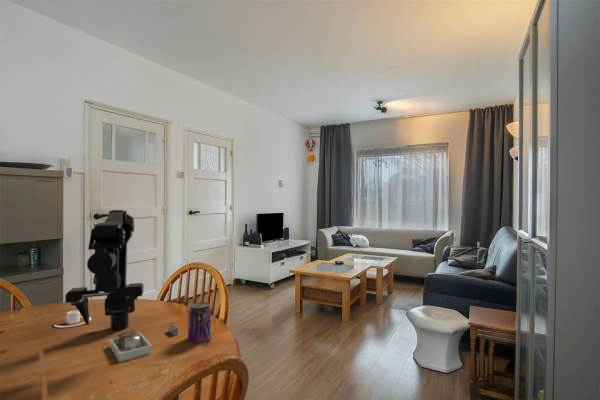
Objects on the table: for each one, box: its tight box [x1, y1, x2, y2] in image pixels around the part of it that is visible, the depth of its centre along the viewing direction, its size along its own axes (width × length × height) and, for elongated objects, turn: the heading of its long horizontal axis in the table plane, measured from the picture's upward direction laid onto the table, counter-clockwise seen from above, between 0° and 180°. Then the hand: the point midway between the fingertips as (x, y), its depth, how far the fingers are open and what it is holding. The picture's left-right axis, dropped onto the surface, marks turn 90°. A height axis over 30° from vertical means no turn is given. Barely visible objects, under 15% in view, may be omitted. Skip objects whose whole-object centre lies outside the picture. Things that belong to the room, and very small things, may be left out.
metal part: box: [125, 334, 140, 352], centre depth 95 cm, size 4×4×4 cm
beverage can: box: [187, 301, 212, 344], centre depth 106 cm, size 7×7×12 cm
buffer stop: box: [167, 324, 179, 337], centre depth 110 cm, size 5×2×3 cm, turn 40°
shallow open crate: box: [109, 332, 153, 363], centre depth 97 cm, size 14×8×3 cm, turn 40°
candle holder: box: [54, 309, 92, 328], centre depth 123 cm, size 12×12×4 cm
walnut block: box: [118, 329, 138, 350], centre depth 100 cm, size 4×4×4 cm
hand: (106, 322), depth 92 cm, fingers open, 9 cm apart
